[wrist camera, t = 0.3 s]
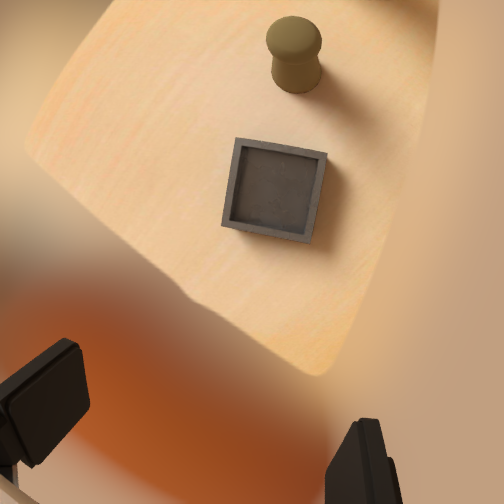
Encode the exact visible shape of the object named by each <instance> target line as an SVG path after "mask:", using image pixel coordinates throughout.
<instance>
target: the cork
mask: <svg viewBox="0 0 504 504" xmlns="http://www.w3.org/2000/svg"><path fill="white" fill-rule="evenodd" d="M266 42H267V46H268V49H269V51H270V52H271V54H272V55H273V61H272V71H271V73H272V77H273V80H274V81H275V83H276V84H277V85H278V86H279V87H280V88H281V89H282V90H285V91H287V92H289V93H297V94H299V93H305V92H307V91H309V90H312V89H313V88H314V87H315V86H316V85H317V84H318V82H319V80H320V78H321V68H320V64H319V60H318V56H317V55H318V53H319V51H320V49H321V44H322V38H321V34H320V32H319V30H318V28H317V27H316V26H315V25H314V24H313V23H312V22H310V21H309V20H307V19H305V18H302V17H297V16H289V17H283V18H281V19H279V20H277V21H275V22H274V23H273V24H272V25H271V26H270V28H269V30H268V32H267V36H266Z"/></svg>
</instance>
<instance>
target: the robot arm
mask: <svg viewBox="0 0 504 504" xmlns="http://www.w3.org/2000/svg"><path fill="white" fill-rule="evenodd" d="M83 362H84V361H83V354H82V350H81V349H80V347H79V345H78V344H77V343H76V342H73V341H71V340H69V339H66V338H62V339H61V340H59V341H58V342H56V343H55V344H54V345H52V346H51V347H49V348H48V349H47V350H45V351H44V352H43V353H41V354H40V355H39V356H37V357H36V358H34V359H33V360H32V361H30V362H29V363H28V364H26V365H25V366H24V367H22V368H21V369H20V370H18V371H17V372H16V373H14V374H13V375H12V376H10V377H9V378H8V379H6V380H5V381H4V382H3V383H1V384H0V504H39V503H38V502H36V501H34V500H33V499H32V498H30V497H29V496H28V495H26V494H25V493H24V492H22V491H21V490H20V489H19V484H18V471H17V463H18V462H19V461H20V460H21V461H22V462H23V463H25V464H26V465H27V466H29V467H30V468H31V469H32V468H33V467H34V466H35V465H39V464H41V463H42V462H43V461H44V460H45V458H46V457H47V456H48V455H49V454H50V453H51V452H52V450H53V449H54V448H55V447H56V446H57V445H58V443H60V441H61V440H62V439H63V438H64V437H65V436H66V434H67V433H68V432H69V431H70V430H71V429H72V428H73V427H74V426H75V425H76V423H77V422H78V421H79V420H80V419H81V418H82V417H83V416H84V414H85V413H86V412H87V411H88V410H89V407H90V399H89V393H88V388H87V382H86V375H85V369H84V363H83ZM325 504H403V502H402V497H401V492H400V487H399V482H398V477H397V473H396V468H395V464H394V461H393V459H392V458H391V457H387V453H386V449H385V444H384V440H383V436H382V431H381V427H380V423H379V420H378V419H371V418H360V419H359V421H358V422H356V421H354V422H353V423H352V425H351V427H350V429H349V431H348V433H347V434H346V436H345V438H344V440H343V442H342V444H341V445H340V447H339V449H338V451H337V453H336V454H335V456H334V458H333V459H332V461H331V463H330V465H329V466H328V468H327V470H326V474H325Z"/></svg>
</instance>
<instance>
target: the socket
mask: <svg viewBox="0 0 504 504" xmlns="http://www.w3.org/2000/svg"><path fill="white" fill-rule="evenodd" d="M327 154H328V153H324V152H319V151H314V150H309V149H304V148H299V147H294V146H288V145H282V144H276V143H270V142H264V141H258V140H251V139H244V138H237V137H236V138H235V144H234V150H233V156H232V161H231V167H230V173H229V179H228V185H227V191H226V197H225V204H224V210H223V216H222V223H221V226H223V227H228V228H233V229H238V230H243V231H248V232H253V233H258V234H263V235H268V236H273V237H278V238H283V239H288V240H293V241H298V242H303V243H308V244H310V242H311V237H312V232H313V227H314V222H315V217H316V212H317V207H318V202H319V197H320V192H321V187H322V181H323V176H324V171H325V165H326V159H327Z"/></svg>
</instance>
